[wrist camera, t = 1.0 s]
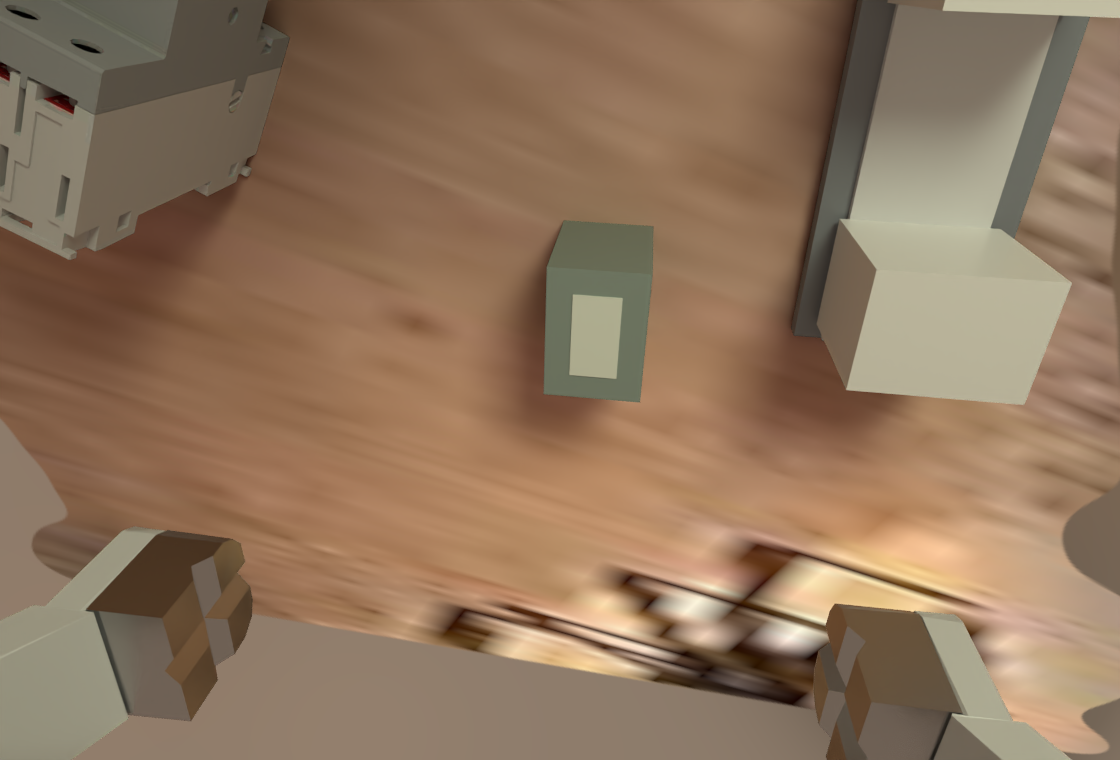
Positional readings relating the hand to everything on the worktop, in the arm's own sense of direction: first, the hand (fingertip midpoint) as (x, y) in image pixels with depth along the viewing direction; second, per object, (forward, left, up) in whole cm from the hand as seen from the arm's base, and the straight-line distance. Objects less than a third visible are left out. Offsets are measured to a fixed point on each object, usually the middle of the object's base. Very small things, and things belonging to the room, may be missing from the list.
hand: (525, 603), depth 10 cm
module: (+8, -1, -33) cm, 34 cm away
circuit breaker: (-5, -22, -33) cm, 40 cm away
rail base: (-2, +15, -33) cm, 37 cm away
